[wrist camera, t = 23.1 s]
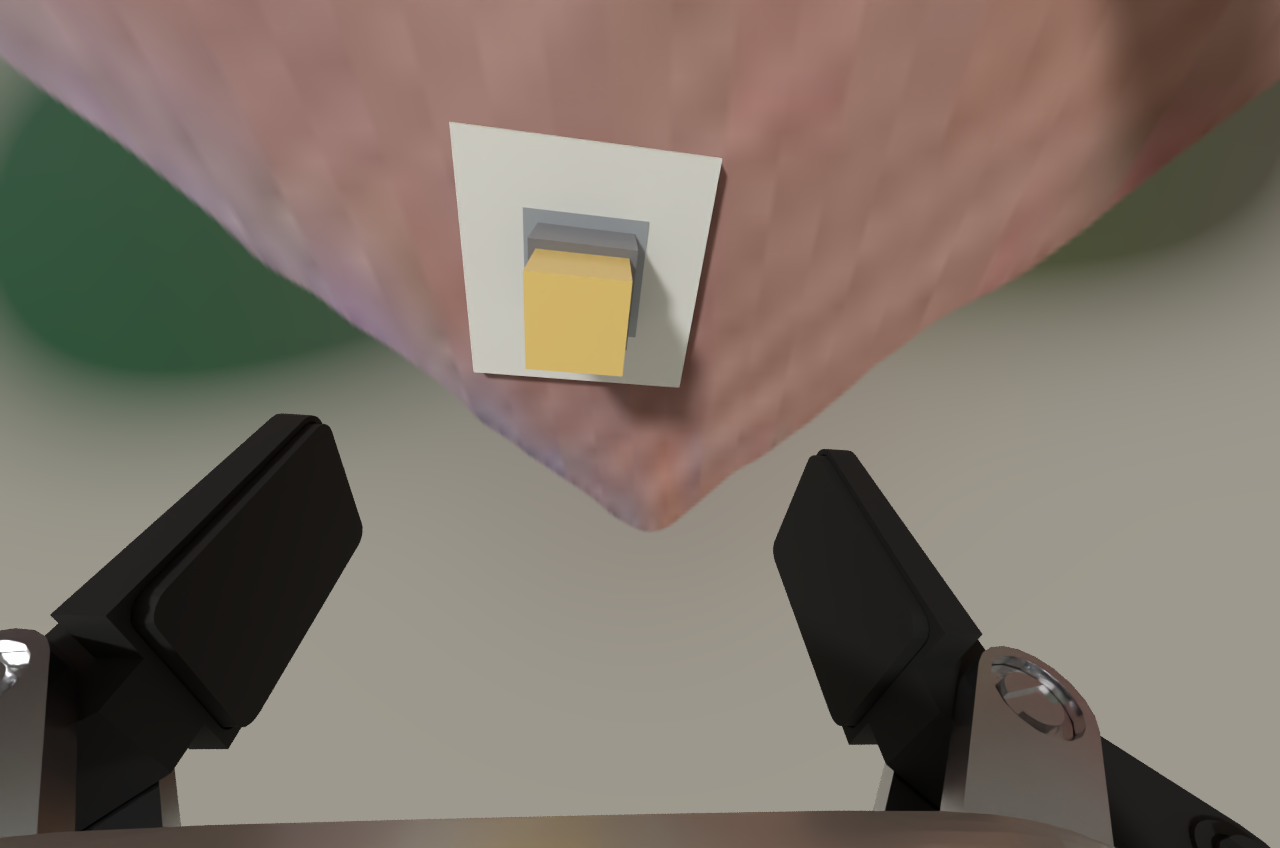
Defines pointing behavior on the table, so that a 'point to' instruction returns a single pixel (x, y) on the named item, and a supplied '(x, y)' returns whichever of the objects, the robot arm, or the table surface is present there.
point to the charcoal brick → (586, 245)
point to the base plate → (587, 198)
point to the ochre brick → (576, 312)
